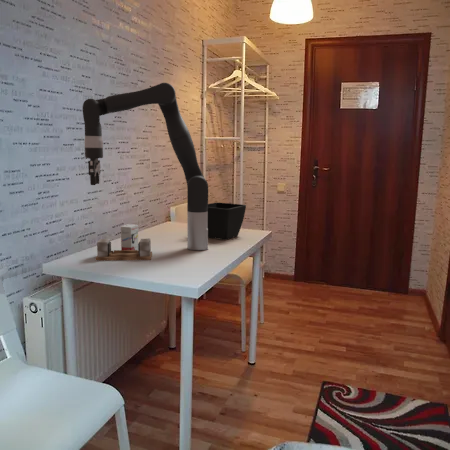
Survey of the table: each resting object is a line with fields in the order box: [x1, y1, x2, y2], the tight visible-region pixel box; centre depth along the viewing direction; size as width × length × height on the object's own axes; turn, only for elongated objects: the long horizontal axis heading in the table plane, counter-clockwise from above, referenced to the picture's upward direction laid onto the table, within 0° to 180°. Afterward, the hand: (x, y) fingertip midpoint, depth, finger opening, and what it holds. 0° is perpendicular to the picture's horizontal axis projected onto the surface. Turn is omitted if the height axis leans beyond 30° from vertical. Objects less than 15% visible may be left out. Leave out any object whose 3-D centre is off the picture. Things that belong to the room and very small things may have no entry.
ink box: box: [120, 223, 139, 250], centre depth 195 cm, size 9×5×12 cm, turn 168°
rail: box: [95, 238, 153, 262], centre depth 185 cm, size 22×10×7 cm, turn 96°
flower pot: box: [208, 201, 247, 241], centre depth 232 cm, size 19×19×17 cm
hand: (95, 184), depth 195 cm, fingers open, 8 cm apart
